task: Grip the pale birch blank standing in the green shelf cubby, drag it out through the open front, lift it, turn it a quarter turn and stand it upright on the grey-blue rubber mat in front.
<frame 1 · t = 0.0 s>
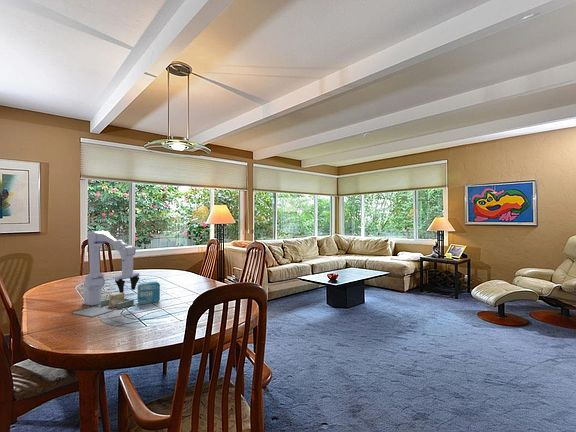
hand: (127, 291, 178), 10 cm above the table, tool pointing down, fingers open, 7 cm apart
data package: (148, 302, 192), on the table
birch blank: (116, 305, 185), on the table
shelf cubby: (115, 305, 184), on the table
rubber mat: (92, 312, 172), on the table
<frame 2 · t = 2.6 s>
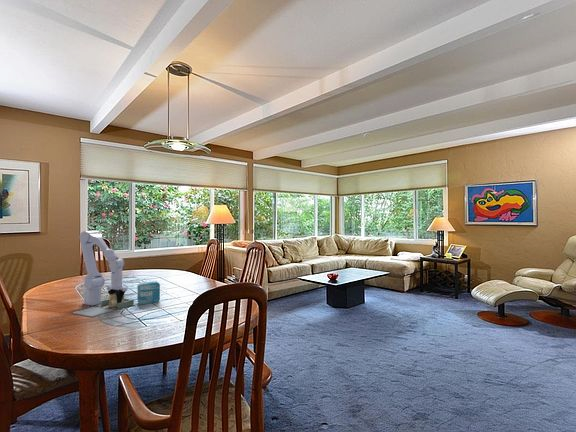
hand: (116, 302, 185), 2 cm above the table, tool pointing down, fingers closed on birch blank, 4 cm apart
birch blank: (116, 305, 185), on the table, touching gripper
everything else where it was.
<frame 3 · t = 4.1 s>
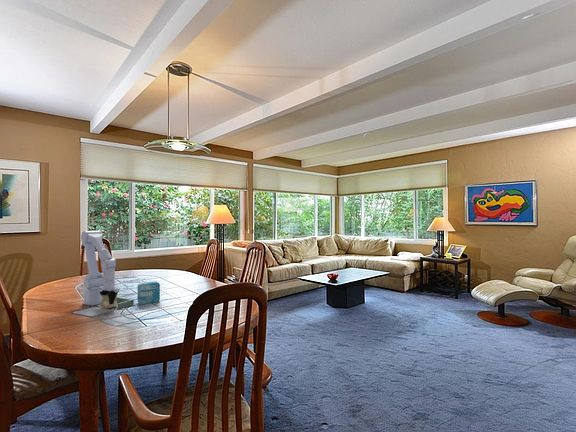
hand: (108, 303, 180), 2 cm above the table, tool pointing down, fingers closed on birch blank, 4 cm apart
birch blank: (109, 306, 180), on the table, touching gripper
everything else where it was.
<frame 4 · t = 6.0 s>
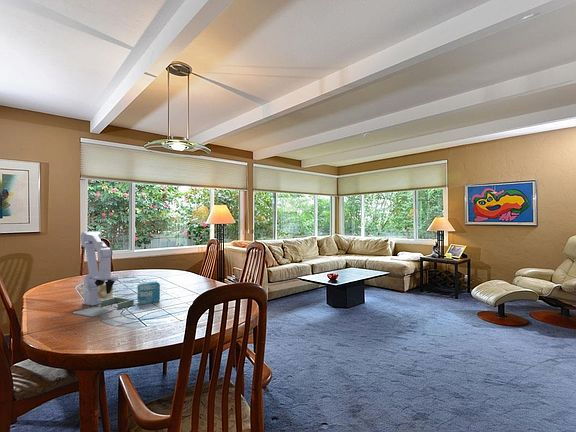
hand: (104, 293, 178), 9 cm above the table, tool pointing down, fingers closed on birch blank, 4 cm apart
birch blank: (105, 296, 178), point 7 cm above the table, touching gripper
everything else where it was.
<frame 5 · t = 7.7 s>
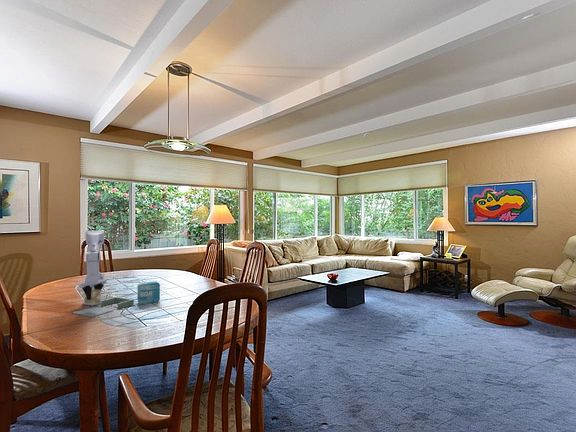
hand: (92, 298, 172), 7 cm above the table, tool pointing down, fingers closed on birch blank, 4 cm apart
birch blank: (92, 302, 172), point 5 cm above the table, touching gripper
everything else where it was.
when the fingers open (3 cm above the table, at t = 9.4 s): birch blank stays where it is, resting on rubber mat.
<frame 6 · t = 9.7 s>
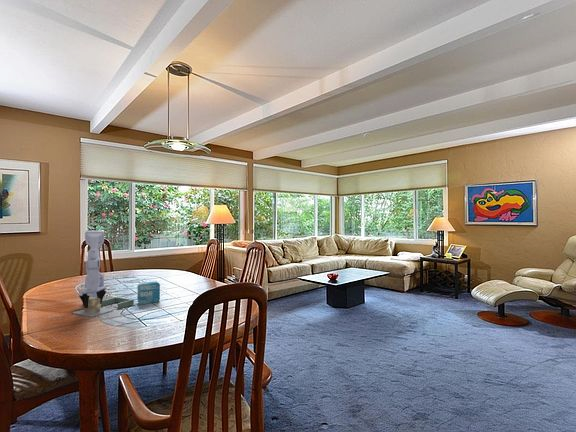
hand: (92, 306, 172), 3 cm above the table, tool pointing down, fingers open, 7 cm apart
birch blank: (92, 311, 172), resting on rubber mat
everything else where it was.
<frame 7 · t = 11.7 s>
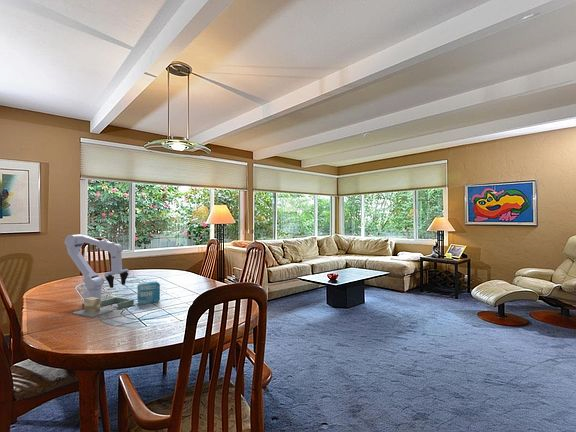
hand: (117, 286, 189), 10 cm above the table, tool pointing down, fingers open, 7 cm apart
nothing on the table moved.
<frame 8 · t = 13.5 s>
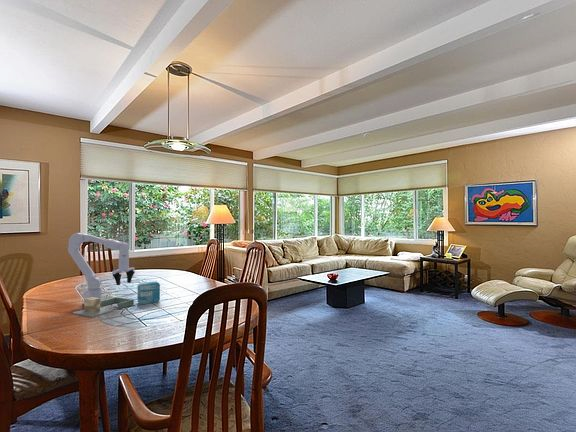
hand: (123, 283, 196), 10 cm above the table, tool pointing down, fingers open, 7 cm apart
nothing on the table moved.
at the end: birch blank inside the target area (0.4 cm from its centre), point 0.5 cm above the table; birch blank tilted 0°; the gripper is holding nothing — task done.
